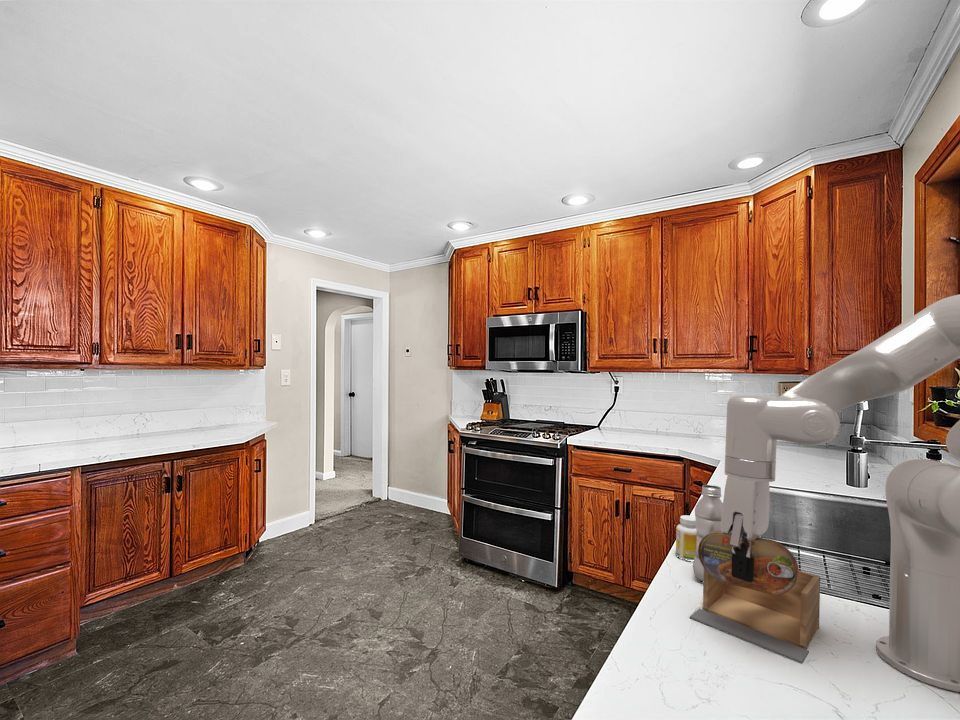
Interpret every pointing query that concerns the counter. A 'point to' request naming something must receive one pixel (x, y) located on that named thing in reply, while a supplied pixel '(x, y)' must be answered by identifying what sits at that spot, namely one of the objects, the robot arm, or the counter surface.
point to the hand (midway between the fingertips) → (745, 575)
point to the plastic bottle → (707, 521)
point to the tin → (770, 563)
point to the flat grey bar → (751, 635)
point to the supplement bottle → (686, 537)
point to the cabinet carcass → (768, 608)
